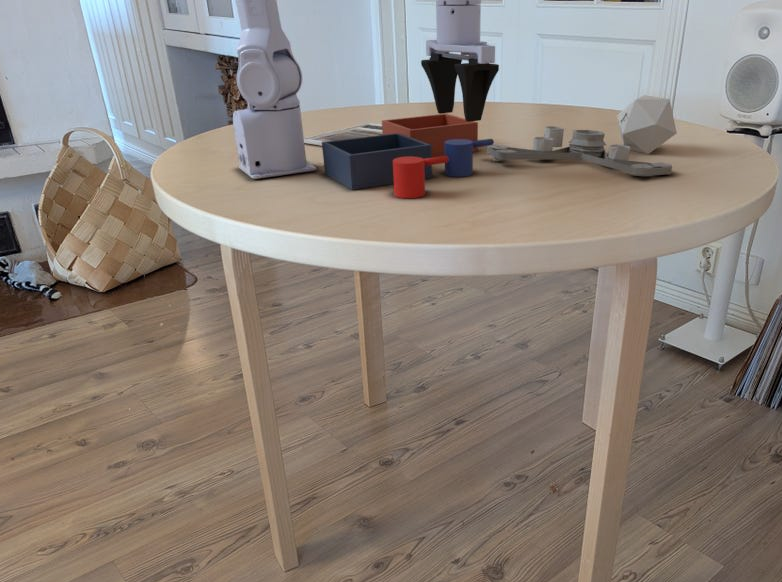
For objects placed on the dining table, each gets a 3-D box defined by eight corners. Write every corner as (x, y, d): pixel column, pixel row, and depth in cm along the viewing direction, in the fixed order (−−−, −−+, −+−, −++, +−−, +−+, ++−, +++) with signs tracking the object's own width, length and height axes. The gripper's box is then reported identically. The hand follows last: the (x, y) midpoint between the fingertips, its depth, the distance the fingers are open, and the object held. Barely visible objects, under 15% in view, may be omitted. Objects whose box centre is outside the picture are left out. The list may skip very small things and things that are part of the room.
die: (625, 146, 113) (603, 99, 106) (677, 120, 109) (657, 70, 103) (635, 175, 108) (612, 128, 101) (689, 149, 104) (670, 99, 97)
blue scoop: (453, 178, 93) (453, 146, 91) (439, 172, 96) (439, 141, 94) (500, 170, 96) (501, 139, 94) (485, 165, 99) (485, 135, 97)
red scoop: (402, 200, 84) (401, 164, 81) (389, 193, 87) (387, 158, 84) (456, 191, 87) (456, 157, 85) (441, 184, 90) (440, 151, 88)
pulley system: (507, 149, 111) (477, 164, 98) (509, 120, 109) (479, 130, 96) (675, 168, 103) (666, 186, 90) (681, 136, 100) (673, 151, 88)
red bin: (411, 160, 103) (410, 130, 100) (383, 148, 110) (381, 120, 108) (477, 151, 108) (478, 122, 106) (446, 140, 115) (446, 113, 113)
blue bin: (352, 190, 88) (349, 155, 86) (324, 174, 96) (321, 142, 93) (432, 177, 93) (431, 144, 91) (400, 163, 101) (398, 132, 99)
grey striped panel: (345, 149, 109) (412, 131, 122) (344, 145, 109) (412, 128, 122) (300, 142, 115) (368, 125, 127) (299, 138, 114) (368, 122, 127)
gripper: (516, 5, 81) (512, 121, 88) (456, 3, 92) (457, 107, 99) (467, 6, 78) (467, 127, 85) (411, 4, 89) (415, 111, 96)
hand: (458, 116), depth 91 cm, fingers open, 7 cm apart
